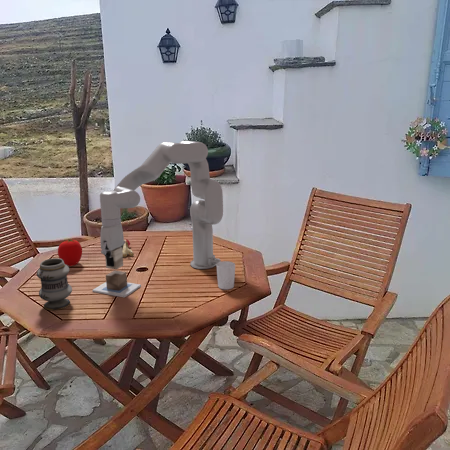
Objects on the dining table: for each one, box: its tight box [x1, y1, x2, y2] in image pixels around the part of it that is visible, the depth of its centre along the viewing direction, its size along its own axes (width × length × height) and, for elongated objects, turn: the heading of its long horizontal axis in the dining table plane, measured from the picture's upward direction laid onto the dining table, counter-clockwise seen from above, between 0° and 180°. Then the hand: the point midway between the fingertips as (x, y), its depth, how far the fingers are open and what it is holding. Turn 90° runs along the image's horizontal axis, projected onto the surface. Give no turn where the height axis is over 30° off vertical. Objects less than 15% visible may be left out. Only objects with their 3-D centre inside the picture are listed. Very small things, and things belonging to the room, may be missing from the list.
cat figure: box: [122, 238, 135, 258], centre depth 234 cm, size 10×9×25 cm
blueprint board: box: [92, 281, 142, 298], centre depth 186 cm, size 16×12×1 cm
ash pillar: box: [104, 247, 124, 270], centre depth 182 cm, size 5×5×8 cm
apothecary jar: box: [36, 257, 73, 311], centre depth 170 cm, size 12×12×18 cm
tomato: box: [57, 239, 83, 267], centre depth 212 cm, size 11×11×13 cm
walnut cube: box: [105, 269, 128, 291], centre depth 185 cm, size 6×6×6 cm
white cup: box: [215, 260, 236, 290], centre depth 186 cm, size 8×8×10 cm
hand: (114, 263), depth 183 cm, fingers closed on ash pillar, 5 cm apart
